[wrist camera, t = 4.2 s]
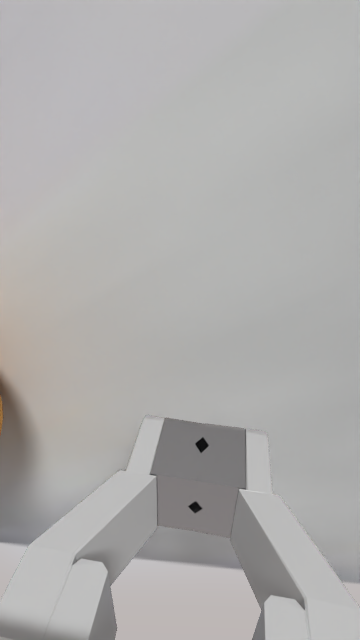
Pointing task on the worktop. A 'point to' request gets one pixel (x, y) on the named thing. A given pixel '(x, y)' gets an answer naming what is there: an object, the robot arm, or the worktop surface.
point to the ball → (1, 414)
